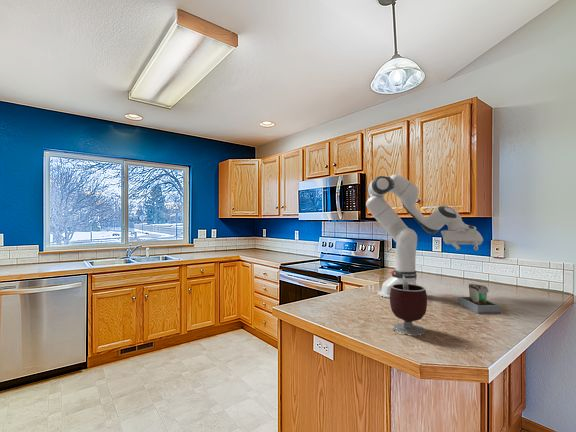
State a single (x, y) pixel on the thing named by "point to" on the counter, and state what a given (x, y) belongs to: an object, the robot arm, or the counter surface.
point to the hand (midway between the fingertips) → (467, 249)
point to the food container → (478, 294)
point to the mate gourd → (408, 306)
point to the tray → (479, 306)
